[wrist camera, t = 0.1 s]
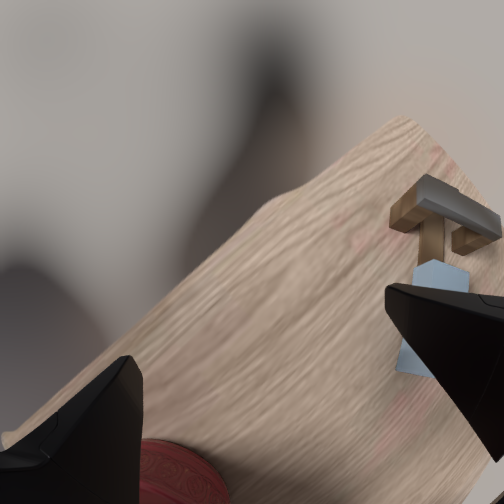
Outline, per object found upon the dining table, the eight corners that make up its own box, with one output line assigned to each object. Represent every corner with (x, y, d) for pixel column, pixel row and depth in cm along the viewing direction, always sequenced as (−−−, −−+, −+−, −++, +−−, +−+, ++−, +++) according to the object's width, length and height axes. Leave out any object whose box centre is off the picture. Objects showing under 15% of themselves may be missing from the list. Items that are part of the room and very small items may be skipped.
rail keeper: (451, 358, 22) (495, 359, 15) (369, 344, 22) (409, 346, 16) (461, 208, 27) (495, 184, 20) (391, 177, 27) (421, 141, 21)
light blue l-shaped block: (433, 375, 21) (495, 383, 12) (395, 370, 21) (457, 382, 12) (448, 279, 23) (508, 257, 15) (413, 268, 24) (473, 239, 15)
